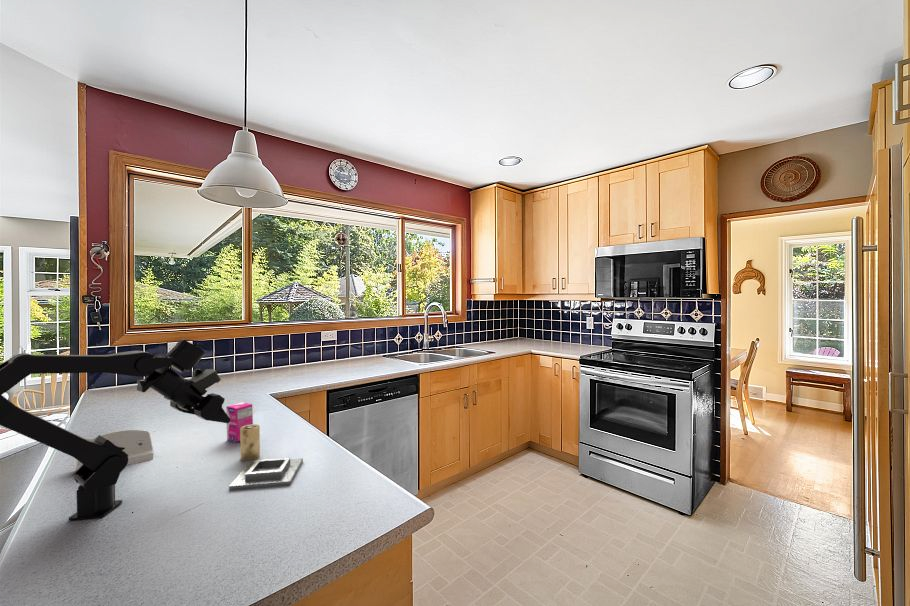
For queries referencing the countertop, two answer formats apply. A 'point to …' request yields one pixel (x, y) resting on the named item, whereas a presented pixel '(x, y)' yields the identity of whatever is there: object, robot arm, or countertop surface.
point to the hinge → (131, 445)
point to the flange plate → (267, 473)
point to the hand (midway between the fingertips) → (220, 418)
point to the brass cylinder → (250, 442)
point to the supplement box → (238, 419)
